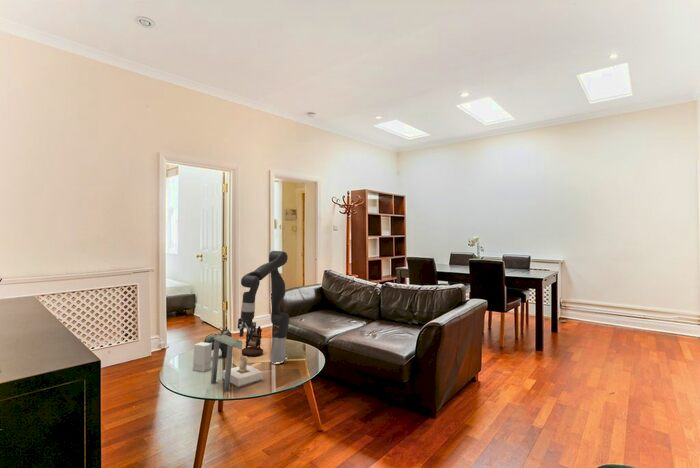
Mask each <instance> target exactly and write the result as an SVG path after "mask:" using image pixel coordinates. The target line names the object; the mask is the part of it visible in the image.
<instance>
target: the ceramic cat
mask: <svg viewBox="0 0 700 468" xmlns="http://www.w3.org/2000/svg"><path fill="white" fill-rule="evenodd" d="M220 329H221V330H220ZM217 330H218V331H219V330H220V333H219V334H218V333H217V334H216V333H214V334H213V333H211V334H208V335H206V336H205V338H204V341H203V342H205V343H212V351H214V341H215V339H214V337H215V336H221V335H227V336H230V337H232V332H231V331H230V329H227V330H224V328H223V327H219V328H217ZM232 338H233V337H232ZM227 347H228V345H227V344H225V343H222V342H220V344H219V350H220V352H221V357H223V358H227Z"/></svg>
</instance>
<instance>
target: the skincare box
mask: <svg viewBox="0 0 700 468" xmlns="http://www.w3.org/2000/svg"><path fill="white" fill-rule="evenodd" d="M212 351H213V350H212V343H205V342H204V341H200V342H197V343H195V344H193V362H192V371H195V372H196V371H197V372H203V373H204V372H207V371H209V370H210V369H212V367H211V365H212Z"/></svg>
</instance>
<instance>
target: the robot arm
mask: <svg viewBox="0 0 700 468" xmlns="http://www.w3.org/2000/svg"><path fill="white" fill-rule="evenodd" d="M288 258H289V257H288V254H287V252H285V251H282V250H271V251H270V252H269V254H268V262H266V263H263V264H262V265H260V266H258V267H257V268H256V269H254V270H253V271H250V272H248V273H246V274H245V275H243V276H242V278H241V279H240V284H241V286H242V287H244V288H248V289H249V290H248V291H245V292H243V294H242V301H241V309H240V318H238V320H237V321H238V322H237V330H239V334H238V335H239V337H240V338H243V337H244V331H245V329H246V331H247V330H248V332H249V335H248V340H252V336H253V333H255V332H256V328H257V322H256V321H254V322H253V320H254V318H255V311H256V295H257V292H258V290H259V286H260V283H261V282H260V281H262V280H263V279H265V278H266V277H267V276H268V275H269V274H270V292H271V312H270V321H271V322H270V323H271V324H272V325H273V326H276V327H278V329H277V330H275V331H273V332H272V335H271V336H272V338H271V349H270V359H269V360H270V361H271V362H273V363H276V362H281V361H283V360H284V359H285V358H287V347H286V345H287V344H286V343H287V335H288V331H289V324H290V316H289V314H288V313H286V312H285V313H284V312H281V304H282V301H283V300H284V298H285V297H286V282H285V281H284V280H285V279H284V278H283V277H282V275H281V273H280V271H279V268H280V267H282V266H284V265H285V264H286V263H287V262H288ZM250 327H251V328H250ZM253 329H254V331H253ZM250 330H251V331H250Z"/></svg>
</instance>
